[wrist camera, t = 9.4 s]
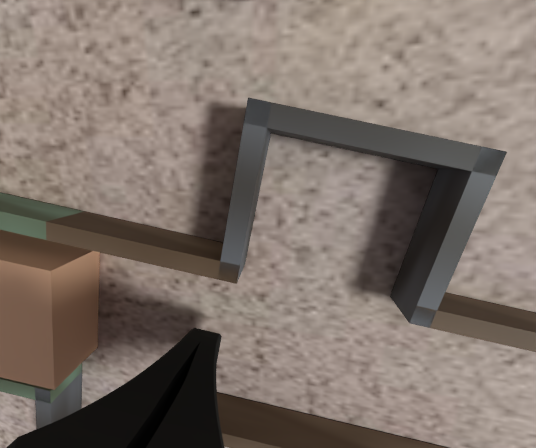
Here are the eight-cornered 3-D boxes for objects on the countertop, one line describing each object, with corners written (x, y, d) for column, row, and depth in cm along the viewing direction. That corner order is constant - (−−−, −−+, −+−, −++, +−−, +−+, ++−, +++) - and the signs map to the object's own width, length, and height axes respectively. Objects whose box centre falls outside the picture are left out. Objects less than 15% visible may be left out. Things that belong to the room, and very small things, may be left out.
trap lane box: (439, 535, 16) (460, 588, 14) (-21, 420, 16) (-62, 456, 14) (648, 191, 10) (734, 199, 8) (-69, 40, 11) (-146, 15, 9)
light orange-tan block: (101, 343, 15) (54, 389, 12) (0, 320, 15) (-71, 360, 12) (104, 245, 13) (50, 271, 10) (-9, 221, 13) (-93, 239, 10)
